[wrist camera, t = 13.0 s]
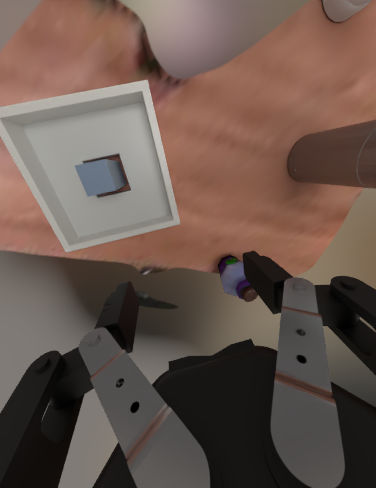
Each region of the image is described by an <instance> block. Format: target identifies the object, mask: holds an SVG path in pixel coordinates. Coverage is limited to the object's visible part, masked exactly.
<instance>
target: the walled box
mask: <svg viewBox="0 0 376 488" xmlns="http://www.w3.org/2000/svg"><path fill="white" fill-rule="evenodd" d="M0 136H1V138H2V140H3V142H4V144H5V145H6V147H7V149H8V151H9V152H10V154H11V156H12V158H13V159H14V161H15V163H16V165H17V167H18V168H19V170H20V172H21V174H22V175H23V177H24V179H25V181H26V182H27V184H28V186H29V188H30V190H31V191H32V193H33V195H34V197H35V198H36V200H37V202H38V204H39V206H40V207H41V209H42V211H43V213H44V214H45V216H46V218H47V220H48V221H49V223H50V225H51V227H52V229H53V230H54V232H55V234H56V236H57V237H58V239H59V241H60V243H61V244H62V246H63V248H64V250H65V252H70V251H74V250H78V249H82V248H86V247H90V246H94V245H98V244H102V243H106V242H110V241H114V240H118V239H122V238H126V237H130V236H134V235H138V234H142V233H147V232H151V231H155V230H159V229H163V228H167V227H171V226H175V225H179V224H180V219H179V215H178V211H177V206H176V202H175V198H174V193H173V189H172V185H171V180H170V176H169V171H168V167H167V163H166V158H165V154H164V150H163V145H162V141H161V137H160V132H159V128H158V124H157V119H156V115H155V111H154V106H153V102H152V98H151V93H150V89H149V85H148V80H144V81H139V82H133V83H128V84H122V85H117V86H112V87H106V88H101V89H95V90H90V91H85V92H79V93H74V94H68V95H63V96H58V97H52V98H47V99H41V100H36V101H30V102H25V103H20V104H14V105H9V106H3V107H0ZM118 155H120V158H121V161H122V164H123V167H124V170H125V173H126V176H127V179H128V182H129V185H130V188H131V189H129V190H125V191H121V192H116V193H112V194H107V195H103V196H102V194H98V195H93V196H89V197H88V196H87V194H86V192H85V189H84V187H83V185H82V182H81V180H80V178H79V176H78V173H77V171H76V169H75V165H80V164H84V163H89V162H90V161H94V160H99V159H104V158H108V157H113V156H118Z"/></svg>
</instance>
